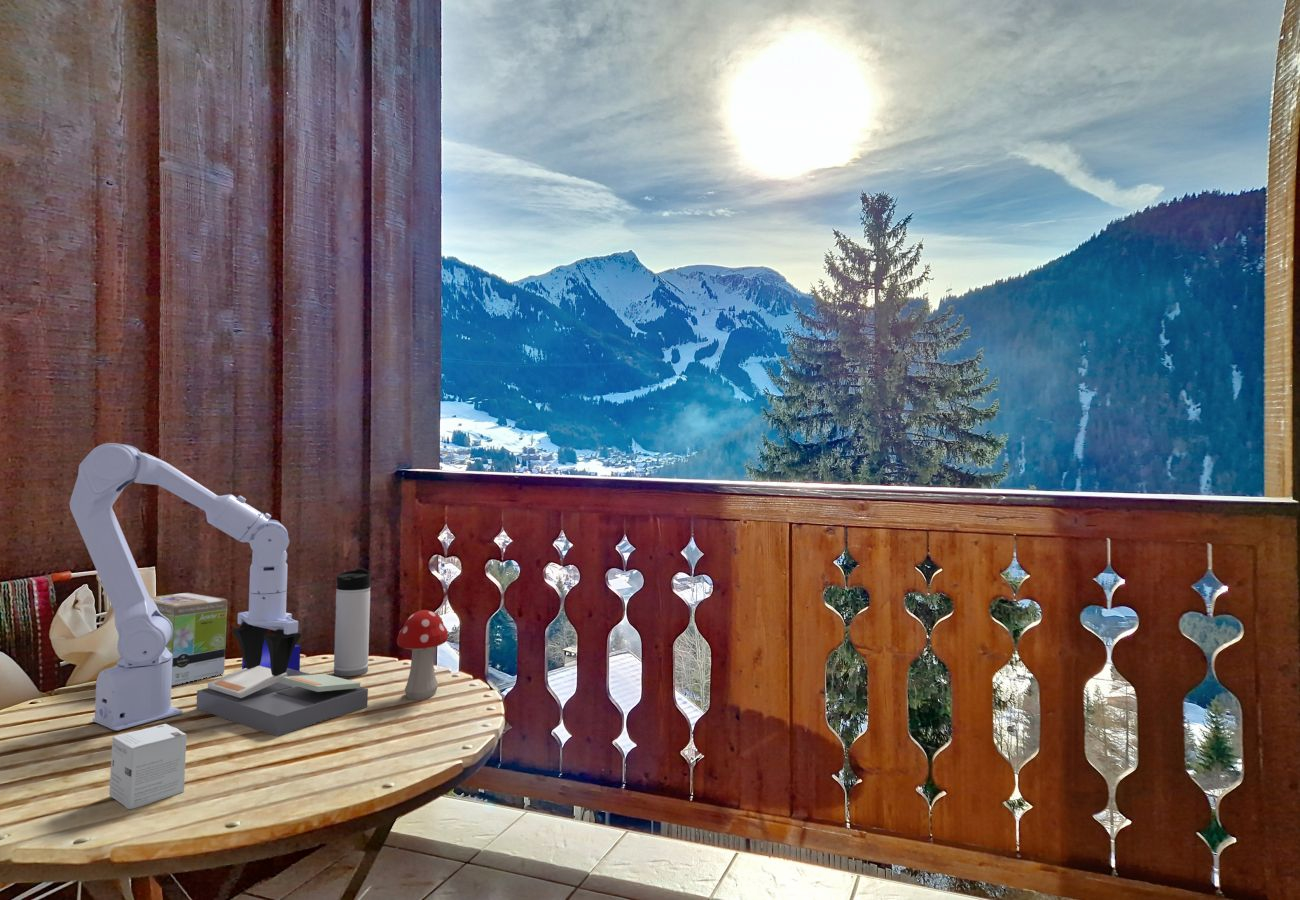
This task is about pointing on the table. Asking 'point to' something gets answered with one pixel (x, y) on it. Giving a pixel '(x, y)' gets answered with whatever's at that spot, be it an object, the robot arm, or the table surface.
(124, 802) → the skincare box
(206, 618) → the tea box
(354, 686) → the plate
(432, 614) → the decorative mushroom
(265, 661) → the blue curved bracket
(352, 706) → the switch block
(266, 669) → the cream rocker
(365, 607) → the travel mug
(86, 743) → the table surface
